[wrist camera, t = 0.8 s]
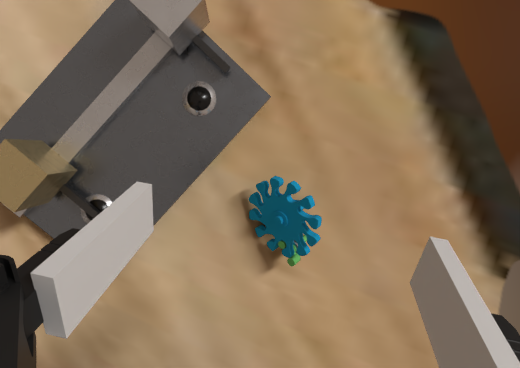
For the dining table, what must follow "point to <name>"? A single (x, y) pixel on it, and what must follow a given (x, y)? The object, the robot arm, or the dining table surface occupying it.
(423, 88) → the dining table surface
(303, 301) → the dining table surface
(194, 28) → the block
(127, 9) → the plate
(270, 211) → the gear
